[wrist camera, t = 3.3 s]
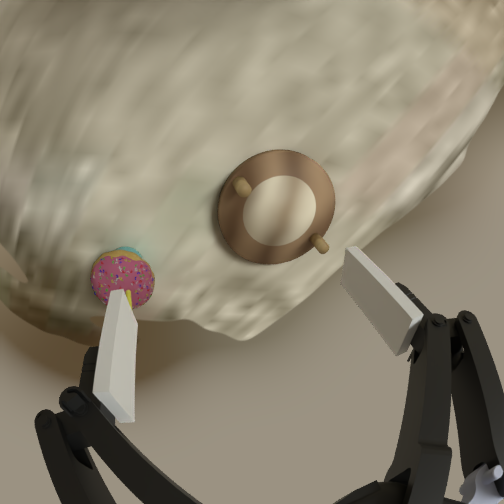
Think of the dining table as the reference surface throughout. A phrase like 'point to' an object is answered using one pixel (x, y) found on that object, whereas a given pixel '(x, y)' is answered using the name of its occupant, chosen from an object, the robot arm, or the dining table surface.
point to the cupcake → (123, 276)
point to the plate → (276, 207)
